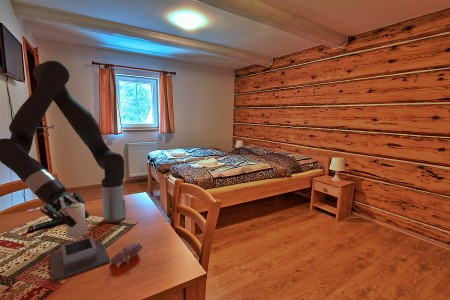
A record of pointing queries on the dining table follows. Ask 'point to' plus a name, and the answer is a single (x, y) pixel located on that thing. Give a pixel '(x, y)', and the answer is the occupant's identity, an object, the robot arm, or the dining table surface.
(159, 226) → the dining table surface
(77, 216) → the paper roll
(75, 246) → the roll holder
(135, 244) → the video game controller
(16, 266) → the dining table surface
